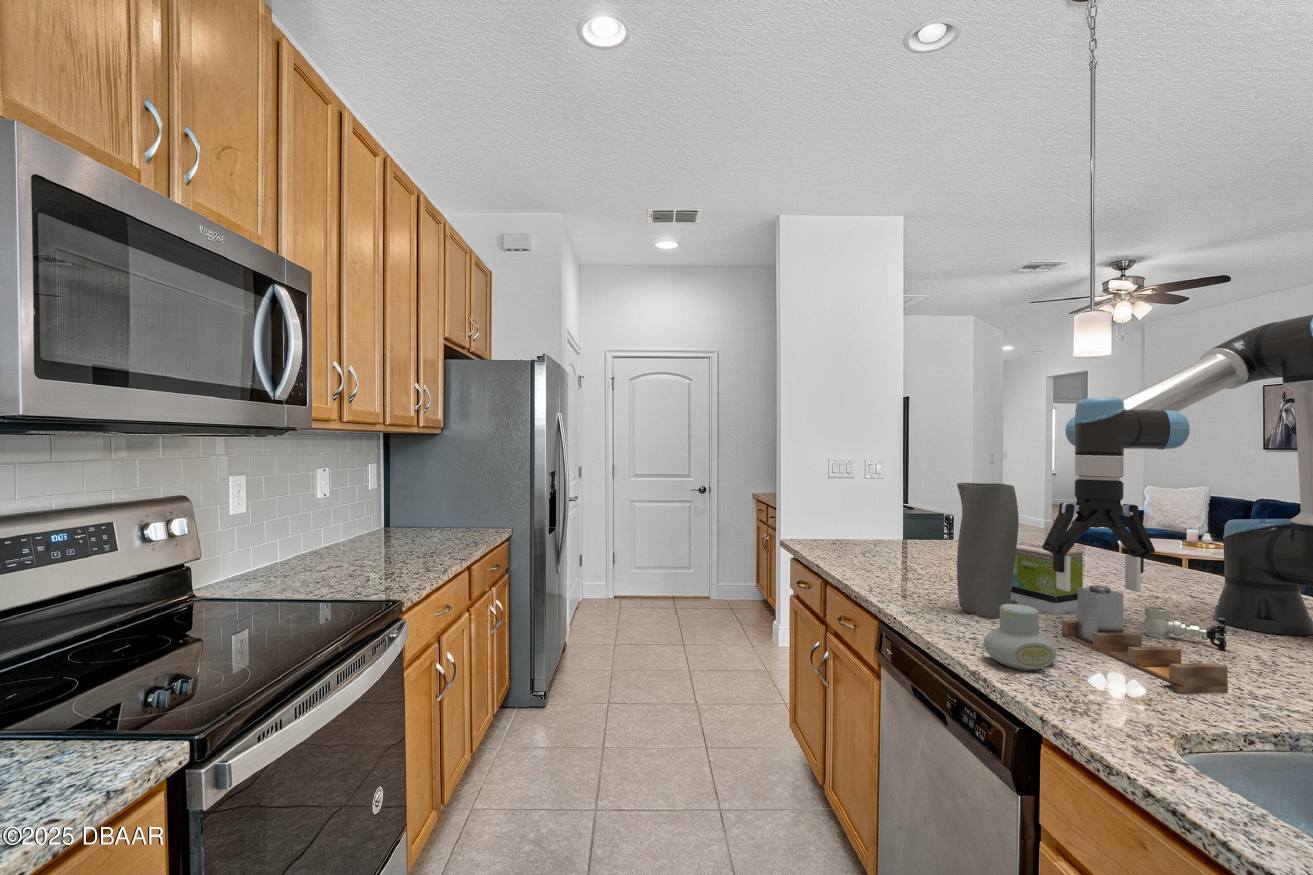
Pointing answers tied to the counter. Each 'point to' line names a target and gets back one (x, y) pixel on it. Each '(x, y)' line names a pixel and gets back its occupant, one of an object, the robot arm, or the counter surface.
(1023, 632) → the air freshener
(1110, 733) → the counter surface
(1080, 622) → the block
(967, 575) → the vase
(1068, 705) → the counter surface
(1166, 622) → the valve
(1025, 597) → the tea box
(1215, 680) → the wooden compartment tray
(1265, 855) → the counter surface
